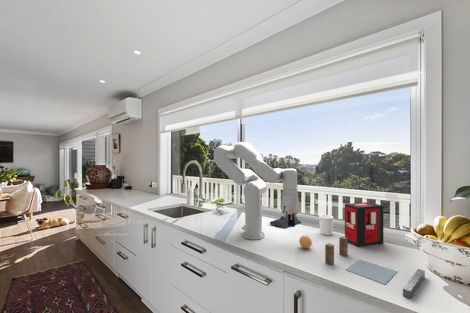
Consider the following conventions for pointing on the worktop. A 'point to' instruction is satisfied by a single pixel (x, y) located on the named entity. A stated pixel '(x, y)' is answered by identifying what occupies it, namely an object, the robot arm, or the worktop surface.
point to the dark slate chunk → (283, 222)
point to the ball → (305, 241)
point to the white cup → (326, 224)
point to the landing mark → (372, 271)
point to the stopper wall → (413, 284)
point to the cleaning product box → (364, 224)
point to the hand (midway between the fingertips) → (291, 226)
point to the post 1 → (329, 254)
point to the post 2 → (343, 246)
